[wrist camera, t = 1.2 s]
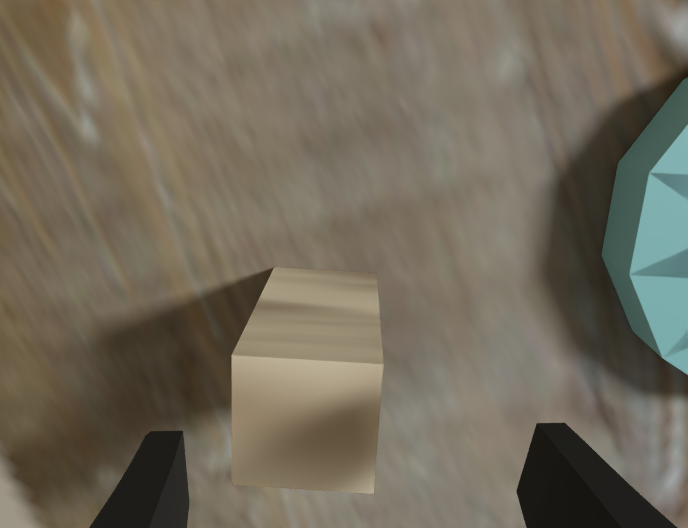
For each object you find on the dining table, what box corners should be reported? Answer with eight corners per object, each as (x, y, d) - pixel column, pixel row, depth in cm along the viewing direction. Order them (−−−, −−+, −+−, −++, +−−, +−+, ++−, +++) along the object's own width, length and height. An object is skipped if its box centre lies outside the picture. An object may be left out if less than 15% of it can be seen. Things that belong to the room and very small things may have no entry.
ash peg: (370, 366, 25) (373, 493, 17) (272, 360, 25) (231, 484, 17) (376, 273, 23) (383, 364, 16) (274, 267, 23) (231, 355, 16)
